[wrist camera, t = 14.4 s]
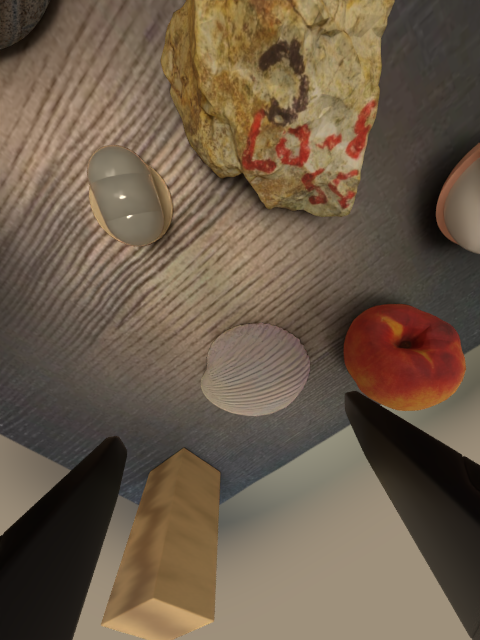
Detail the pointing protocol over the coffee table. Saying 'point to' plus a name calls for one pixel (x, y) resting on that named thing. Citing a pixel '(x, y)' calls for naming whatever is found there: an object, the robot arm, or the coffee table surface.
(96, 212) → the coaster
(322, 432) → the coffee table surface
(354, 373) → the fruit
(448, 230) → the toy ball
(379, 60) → the rock
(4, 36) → the vase
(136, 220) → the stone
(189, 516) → the stand
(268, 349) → the seashell
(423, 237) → the coffee table surface
